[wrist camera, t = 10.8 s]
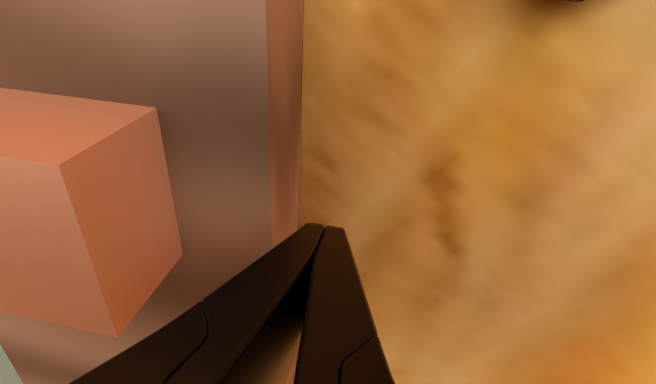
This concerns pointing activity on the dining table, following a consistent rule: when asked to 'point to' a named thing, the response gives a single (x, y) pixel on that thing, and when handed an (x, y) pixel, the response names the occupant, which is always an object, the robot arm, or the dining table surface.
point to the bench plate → (172, 138)
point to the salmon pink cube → (82, 210)
